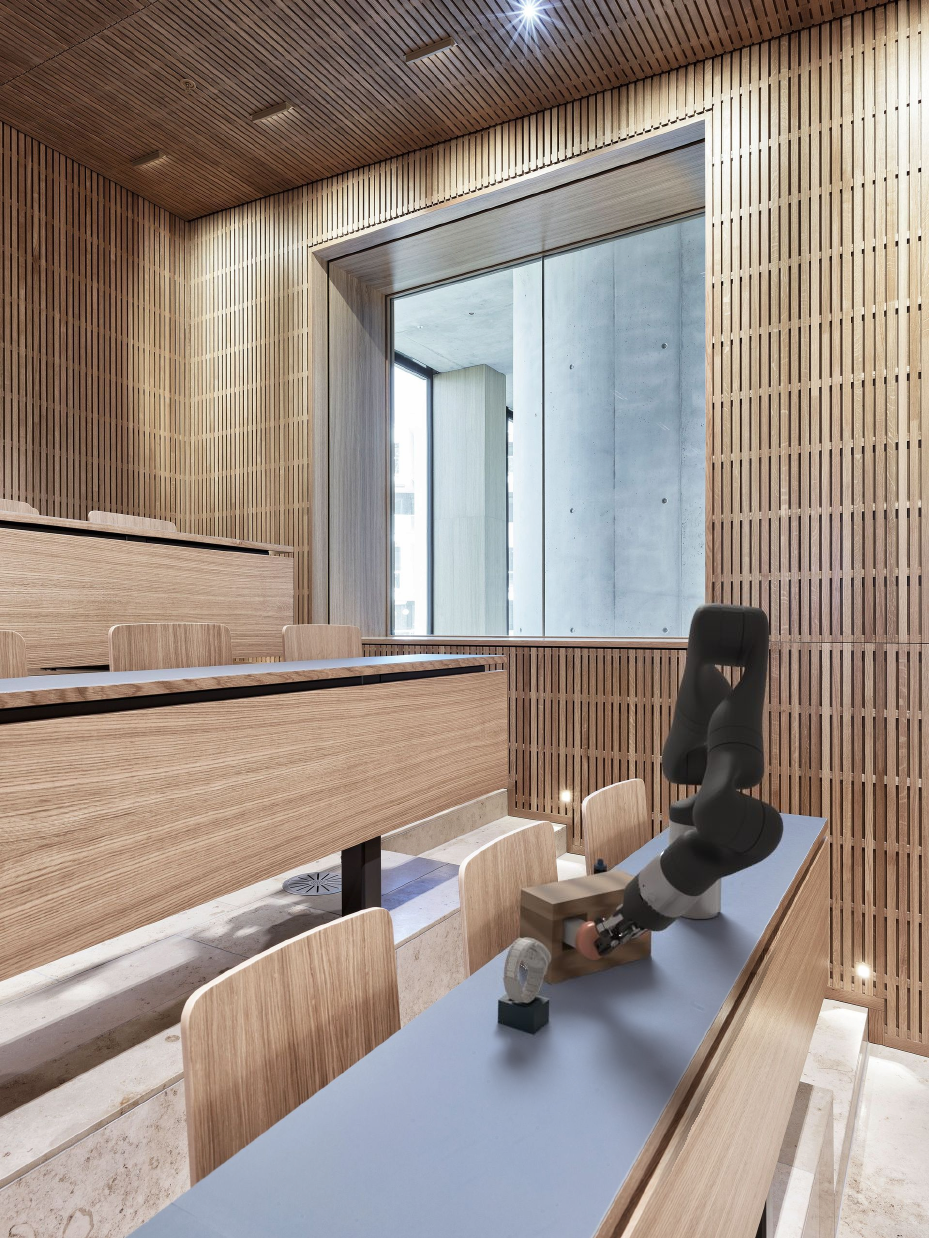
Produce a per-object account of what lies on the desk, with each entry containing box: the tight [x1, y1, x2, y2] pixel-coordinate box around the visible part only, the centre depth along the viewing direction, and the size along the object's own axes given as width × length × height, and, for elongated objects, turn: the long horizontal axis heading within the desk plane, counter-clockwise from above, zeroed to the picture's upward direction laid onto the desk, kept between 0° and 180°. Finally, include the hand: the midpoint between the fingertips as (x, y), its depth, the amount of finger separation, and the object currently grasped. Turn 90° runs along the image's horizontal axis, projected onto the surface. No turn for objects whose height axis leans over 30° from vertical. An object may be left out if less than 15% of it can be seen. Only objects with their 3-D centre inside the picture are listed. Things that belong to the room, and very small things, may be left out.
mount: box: [519, 869, 652, 985], centre depth 128 cm, size 21×8×12 cm, turn 123°
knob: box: [562, 916, 602, 960], centre depth 122 cm, size 5×10×5 cm, turn 33°
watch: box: [497, 937, 551, 1036], centre depth 108 cm, size 6×8×11 cm
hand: (600, 949), depth 117 cm, fingers closed
